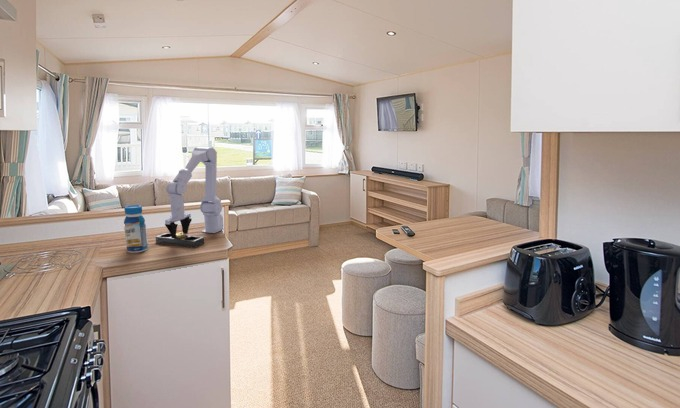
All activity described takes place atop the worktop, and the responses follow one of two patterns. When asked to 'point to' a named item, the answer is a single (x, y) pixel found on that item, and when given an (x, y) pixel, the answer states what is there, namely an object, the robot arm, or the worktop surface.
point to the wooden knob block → (180, 235)
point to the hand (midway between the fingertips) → (179, 235)
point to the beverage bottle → (135, 229)
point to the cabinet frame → (180, 240)
